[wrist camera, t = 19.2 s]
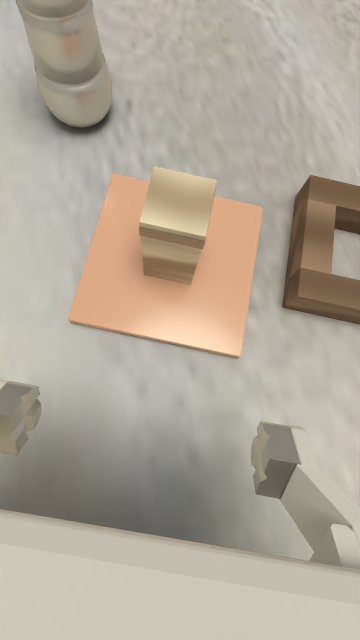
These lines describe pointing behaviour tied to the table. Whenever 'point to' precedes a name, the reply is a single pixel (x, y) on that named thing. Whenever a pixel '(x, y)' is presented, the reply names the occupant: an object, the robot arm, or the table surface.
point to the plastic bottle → (68, 59)
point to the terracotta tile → (163, 295)
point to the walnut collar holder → (322, 250)
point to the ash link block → (175, 224)
